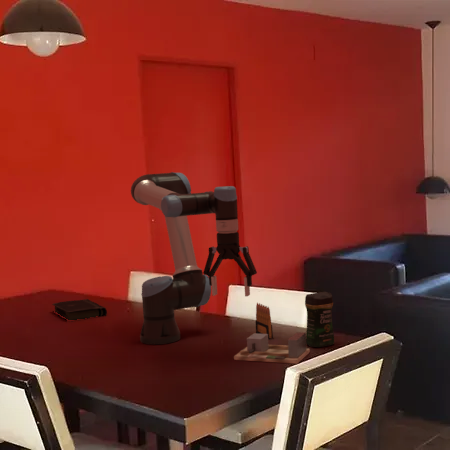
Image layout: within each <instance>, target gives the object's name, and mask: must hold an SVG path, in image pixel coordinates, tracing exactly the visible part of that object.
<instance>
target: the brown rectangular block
mask: <svg viewBox="0 0 450 450" xmlns="http://www.w3.org/2000/svg"><path fill="white" fill-rule="evenodd" d="M287 346H288V354H289V358H298V357H300V356H301V355H302V354H303V353H304V352H305V351H306V349H307V344H306V332H301V331H300V332H299V331H298V332H296V333H294V334H293V335H292V336H291V337H289V338H288V339H287Z"/></svg>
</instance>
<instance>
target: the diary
mask: <svg viewBox="0 0 450 450" xmlns="http://www.w3.org/2000/svg"><path fill="white" fill-rule="evenodd" d="M51 305H52V306H54V310H52V313H53V312H54V311H55V312H57V313H58V314H60V315H61V316H63V317H65V318H66V319H68V320H77V319H84V320H86V319H85V318H87V319H91V318H90V317H94V318H97V317H96V316H99V315H100V316H99V317H102V316H104V315H105V317H107V315H108V311H107V307H105V306H102V305H101V304H99V303H96V302H94V301H92V300H90V299H88V298H86V299H79V300H77V299H76V300H65V301H59V302H54V303H52V304H51Z"/></svg>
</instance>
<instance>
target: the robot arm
mask: <svg viewBox="0 0 450 450" xmlns="http://www.w3.org/2000/svg"><path fill="white" fill-rule="evenodd" d="M130 195H131V197H132V199H133V200H134V201H135V202H136V203H137V204H140V205H143V206H148V205H149V206H152V207H154V208H156V209H159V210H160V211H161V213H162V214H163V216H164V219H165V225H166V230H167V235H168V238H169V239H168V241H169V244H170V245H169V246H170V249H171V256H172V261H173V264H174V265H173V266H174V270H175V271H174V272H173V274H172V276H170V275H163V276H156V277H152V278H149V279H147V280H145V281H144V282H143V283H142V285H141V293H140V294H141V301H142V312H143V313H142V314H143V315H142V316H143V323H142V326H141V329H140V330H141V331H140V334H139V338H140V339H139V340H140V342H141V343H142V344H145V345H166V344H171V343H174V342H177V341H179V340H180V339H181V331H180V329H179V327H178V323H177V322H176V321H177V320H176V318H175V311H176V310H184V309H190V308H198V307H202V306H206V305H207V304H208V302H209V301H210V298H211V295H212V296H213V297H215V296H217V295H218V281H217V275H215V274H216V272H217V271H218V269H219V268H220V265H221V264H222V262H223V260H234V261H235V262H236V264H237V265H238V266H239V268H240V269H241V271H242V272H243V274H244V275H245V276H244V277H243V282H244V297H249V296H250V295H251V289H250V287H252V285H253V280H252V277H253V276H255V275H256V274H257V273H258V272H257V269H256V267H255V265H254V262H253V259H252V257H251V254H250V252H249V246H240V236H239V232H238V230H239V220H238V217H239V215H238V195H237V188H236V187H235V186H233V185H230V186H229V185H227V186H226V185H225V186H216V187H214V190H213V191H212V190H210V191H205V192H204V191H203V192H195V193H194V192H193V193H192V188H191V184H190V181H189V179H188V177H187V175H185V174H184V173H183V172H173V171H171V172H165V173H162V172H161V173H148V174H142V175H141V176H139V177H137V178H136V179H135V180H134V181H133V182H132V183H131V187H130ZM209 214H214V216H215V229H216V247H215V246H210V247H208V255H207V258H206V263H205V266H204V269H202V268H200V267H199V266H198V264H197V263H198V262H197V259H196V253H195V249H194V248H195V247H194V245H193V243H194V242H193V239H192V234H191V230H190V224H189V220H188V216H198V215H209ZM240 252H241V254H242V256H243V257H244V260H245V261H243V259H242V257H241V255H240V254H239V253H240ZM216 253H218V256H217V258H216V260H215V262H214V264H213V261H214V259H215V258H214V257H215V255H216Z"/></svg>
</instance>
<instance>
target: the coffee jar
mask: <svg viewBox="0 0 450 450" xmlns="http://www.w3.org/2000/svg"><path fill="white" fill-rule="evenodd" d="M304 300H305V301H304V306H305V310H306V314H307V315H306V332H305V333H306V346H307V345H308V346H309V347H311V348H312V347H314V348H325V347H328V346H332V345H335V334H334V333H335V332H334V327H333V316H332V314H333V313H332V311H333V306H334V302H333V301H334V300H333V295H332V293H331V292H327V291H321V292H320V291H319V292H313V293H308V294H306V295H305V297H304Z"/></svg>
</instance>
